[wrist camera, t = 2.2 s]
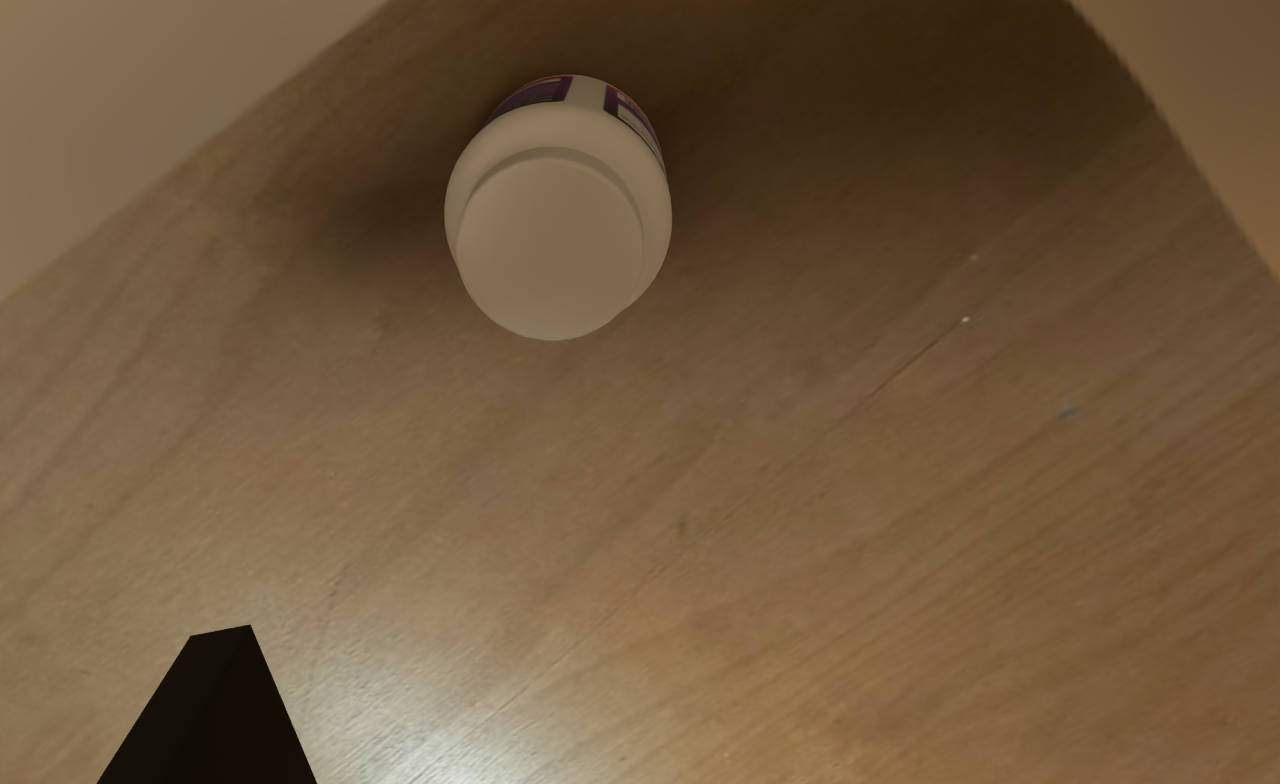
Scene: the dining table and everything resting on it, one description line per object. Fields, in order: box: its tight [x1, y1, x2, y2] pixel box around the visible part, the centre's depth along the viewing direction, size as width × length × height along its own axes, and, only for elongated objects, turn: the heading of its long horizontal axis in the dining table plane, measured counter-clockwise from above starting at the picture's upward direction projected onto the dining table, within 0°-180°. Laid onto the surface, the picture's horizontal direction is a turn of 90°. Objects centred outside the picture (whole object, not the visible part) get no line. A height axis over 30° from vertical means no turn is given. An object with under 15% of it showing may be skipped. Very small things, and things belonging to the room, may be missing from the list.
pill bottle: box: [444, 75, 672, 341], centre depth 27 cm, size 5×5×10 cm
